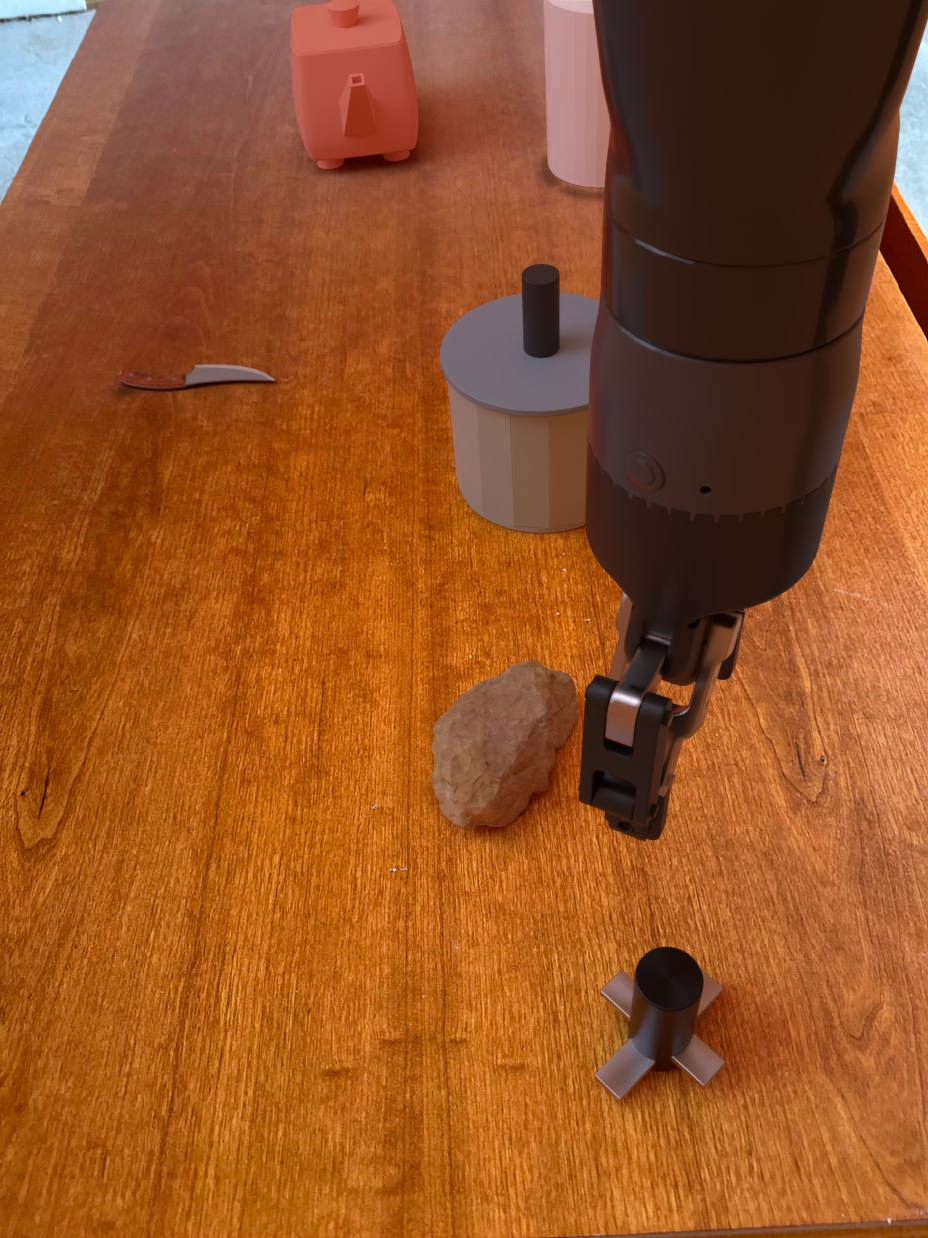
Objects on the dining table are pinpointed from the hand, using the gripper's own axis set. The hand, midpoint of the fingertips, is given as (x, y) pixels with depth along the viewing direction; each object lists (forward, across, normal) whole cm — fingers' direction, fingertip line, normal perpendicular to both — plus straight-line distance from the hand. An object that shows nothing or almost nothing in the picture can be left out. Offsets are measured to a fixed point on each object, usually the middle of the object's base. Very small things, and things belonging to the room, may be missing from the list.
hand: (672, 742), depth 46 cm
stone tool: (+18, +7, +12) cm, 22 cm away
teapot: (+18, +73, +59) cm, 96 cm away
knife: (+18, +32, +51) cm, 63 cm away
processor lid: (+7, +32, +20) cm, 38 cm away
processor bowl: (+17, +32, +20) cm, 41 cm away
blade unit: (+17, -5, -2) cm, 18 cm away
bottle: (+18, +78, +34) cm, 87 cm away
